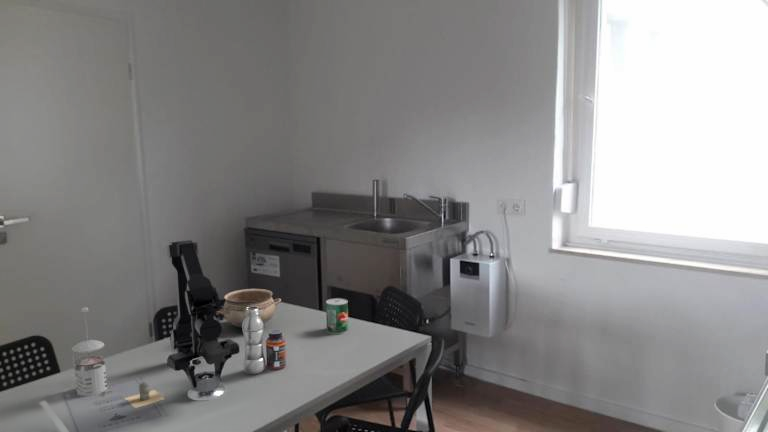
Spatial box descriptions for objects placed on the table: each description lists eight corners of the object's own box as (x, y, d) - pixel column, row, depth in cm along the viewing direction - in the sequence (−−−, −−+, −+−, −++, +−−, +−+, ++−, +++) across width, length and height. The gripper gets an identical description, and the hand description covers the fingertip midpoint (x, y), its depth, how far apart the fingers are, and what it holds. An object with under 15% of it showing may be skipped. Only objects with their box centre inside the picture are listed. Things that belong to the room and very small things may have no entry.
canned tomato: (347, 334, 212) (346, 304, 210) (325, 334, 212) (324, 304, 210) (349, 326, 220) (348, 298, 218) (327, 326, 220) (327, 298, 218)
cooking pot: (224, 341, 207) (222, 307, 205) (209, 326, 223) (207, 294, 221) (291, 327, 220) (290, 295, 218) (272, 314, 236) (271, 284, 234)
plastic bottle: (247, 378, 176) (244, 313, 173) (241, 370, 181) (238, 307, 178) (268, 373, 178) (265, 309, 175) (262, 366, 184) (259, 303, 181)
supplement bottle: (282, 371, 180) (280, 335, 179) (263, 369, 182) (262, 334, 180) (289, 363, 186) (287, 328, 184) (271, 362, 187) (269, 327, 186)
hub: (181, 395, 165) (180, 375, 164) (215, 384, 171) (214, 365, 170) (197, 407, 157) (196, 386, 156) (231, 395, 164) (230, 376, 163)
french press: (85, 404, 160) (77, 315, 157) (61, 394, 166) (53, 308, 163) (118, 390, 168) (111, 305, 165) (94, 381, 175) (87, 299, 171)
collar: (189, 386, 164) (189, 376, 164) (212, 379, 169) (211, 369, 168) (200, 394, 159) (199, 383, 159) (223, 386, 164) (222, 376, 163)
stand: (124, 401, 161) (123, 382, 160) (154, 392, 166) (152, 373, 166) (135, 411, 155) (133, 391, 154) (165, 402, 161) (164, 382, 160)
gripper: (182, 346, 149) (186, 404, 152) (248, 328, 162) (250, 382, 164) (164, 335, 158) (168, 390, 160) (228, 319, 170) (231, 370, 172)
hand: (206, 383), depth 164 cm, fingers closed on collar, 7 cm apart
